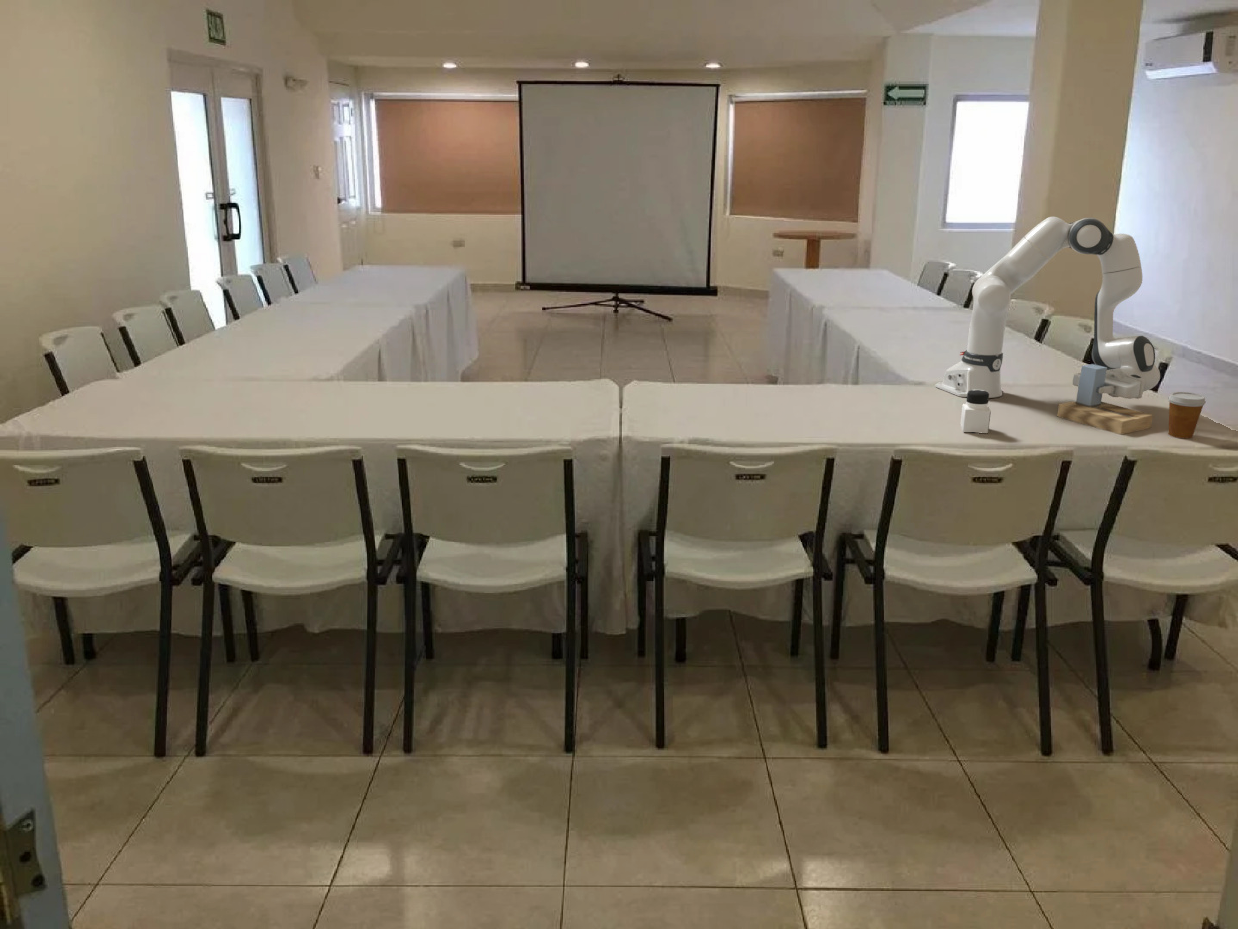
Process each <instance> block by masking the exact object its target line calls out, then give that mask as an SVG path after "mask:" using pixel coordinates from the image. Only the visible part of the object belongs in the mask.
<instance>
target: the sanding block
mask: <svg viewBox="0 0 1238 929" xmlns="http://www.w3.org/2000/svg"><path fill="white" fill-rule="evenodd" d="M1107 372H1108V370H1107V367H1103V366H1099V365H1096V364H1095V363H1091V364H1085V365H1081V369H1080V373H1081V375H1080V381H1079V387H1078V386H1077V394H1076V400H1075V402H1076V404H1079V405H1082V406H1086V407H1089V408H1090V407H1095V406H1100V405H1101V402H1102V398H1103V394H1104V393H1097V392H1096V388H1097V387H1099V386H1101V387H1104V382H1105V377H1106V373H1107Z"/></svg>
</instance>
